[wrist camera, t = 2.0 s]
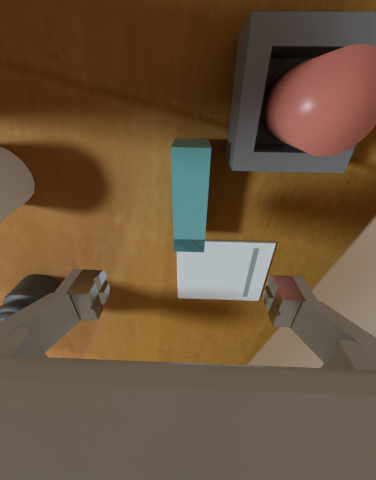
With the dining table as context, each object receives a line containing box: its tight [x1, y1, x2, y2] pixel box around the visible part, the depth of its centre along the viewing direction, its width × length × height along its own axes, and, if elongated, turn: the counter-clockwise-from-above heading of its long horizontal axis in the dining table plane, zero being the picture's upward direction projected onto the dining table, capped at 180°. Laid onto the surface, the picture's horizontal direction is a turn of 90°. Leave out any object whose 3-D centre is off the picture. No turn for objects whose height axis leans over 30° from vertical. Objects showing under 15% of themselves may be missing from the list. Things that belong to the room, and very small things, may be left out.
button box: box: [226, 11, 376, 173], centre depth 14 cm, size 8×8×4 cm
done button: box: [263, 44, 376, 156], centre depth 12 cm, size 4×4×5 cm
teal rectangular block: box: [171, 139, 211, 252], centre depth 18 cm, size 9×3×4 cm, turn 179°
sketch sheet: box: [177, 240, 276, 301], centre depth 26 cm, size 10×11×1 cm
